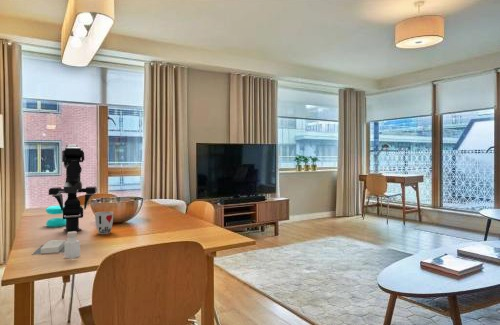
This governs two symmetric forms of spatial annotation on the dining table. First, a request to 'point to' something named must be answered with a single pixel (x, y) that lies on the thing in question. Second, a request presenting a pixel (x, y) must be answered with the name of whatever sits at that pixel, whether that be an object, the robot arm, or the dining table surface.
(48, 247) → the block
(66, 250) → the pepper shaker
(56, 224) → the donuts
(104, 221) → the cup
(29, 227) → the dining table surface
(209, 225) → the dining table surface
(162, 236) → the dining table surface
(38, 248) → the mat
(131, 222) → the dining table surface
